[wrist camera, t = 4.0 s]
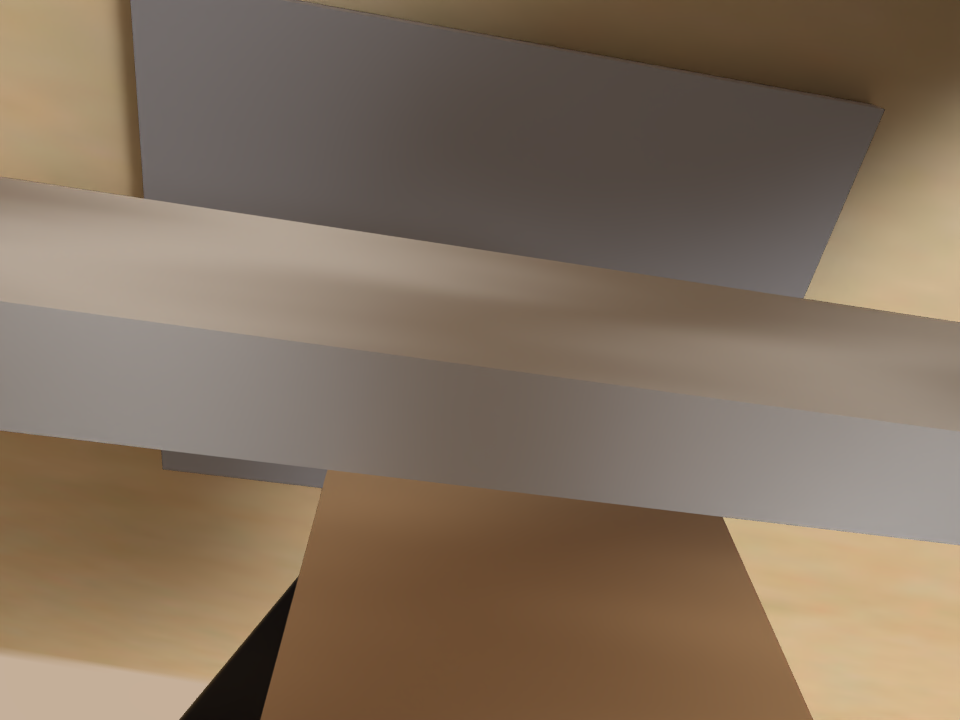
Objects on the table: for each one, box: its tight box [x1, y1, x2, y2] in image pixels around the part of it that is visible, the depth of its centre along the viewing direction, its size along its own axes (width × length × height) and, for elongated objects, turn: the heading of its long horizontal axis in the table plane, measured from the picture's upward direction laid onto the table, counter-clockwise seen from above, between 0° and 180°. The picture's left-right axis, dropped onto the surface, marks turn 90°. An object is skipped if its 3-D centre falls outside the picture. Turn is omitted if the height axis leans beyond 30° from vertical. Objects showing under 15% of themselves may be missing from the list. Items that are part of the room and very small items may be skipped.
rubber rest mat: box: [130, 0, 885, 488], centre depth 16 cm, size 14×11×1 cm
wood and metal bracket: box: [0, 177, 960, 720], centre depth 8 cm, size 12×8×5 cm
